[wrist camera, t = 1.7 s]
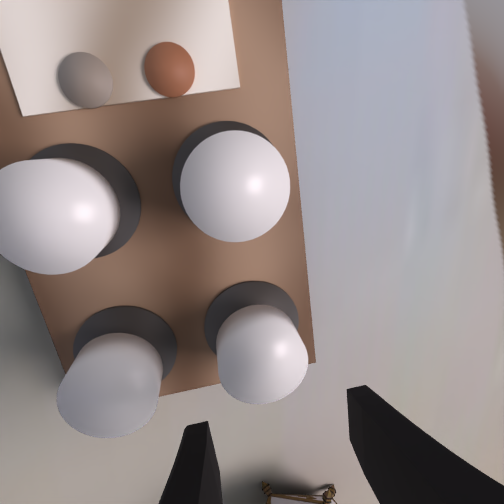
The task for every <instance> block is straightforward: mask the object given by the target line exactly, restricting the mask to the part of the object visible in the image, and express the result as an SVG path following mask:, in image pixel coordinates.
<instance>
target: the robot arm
mask: <svg viewBox="0 0 504 504" xmlns="http://www.w3.org/2000/svg"><path fill="white" fill-rule="evenodd" d="M347 402H348V419H349V436H350V441H351V444H352V446H353V449H354V451H355V454H356V456H357V458H358V461H359V463H360V465H361V468H362V470H363V472H364V475H365V477H366V479H367V480H368V482H369V484H370V486H371V488H372V490H373V492H374V493H375V495H376V497H377V499H378V501H379V503H380V504H504V486H503V485H502V484H500V483H498V482H497V481H495V480H493V479H492V478H490V477H489V476H487V475H486V474H484V473H482V472H481V471H479V470H478V469H476V468H475V467H473V466H472V465H470V464H469V463H467V462H466V461H464V460H463V459H462V458H460V457H459V456H457V455H456V454H454V453H453V452H451V451H450V450H449V449H447V448H446V447H444V446H443V445H442V444H440V443H439V442H437V441H436V440H435V439H433V438H432V437H431V436H429V435H428V434H427V433H425V432H424V431H423V430H421V429H420V428H419V427H417V426H416V425H415V424H414V423H412V422H411V421H410V420H408V419H407V418H406V417H405V416H403V415H402V414H401V413H400V412H398V411H397V410H396V409H395V408H393V407H392V406H391V405H390V404H388V403H387V402H386V401H385V400H384V399H382V398H381V397H380V396H379V395H378V394H376V393H375V392H374V391H373V390H371V389H370V388H369V387H368V386H366V385H363V386H359V387H354V388H350V389H347ZM159 504H223V503H222V491H221V480H220V471H219V466H218V462H217V458H216V454H215V449H214V445H213V441H212V437H211V432H210V428H209V424H208V421H205V422H201V423H197V424H192V425H188V426H187V427H186V428H185V429H184V433H183V437H182V440H181V443H180V447H179V450H178V453H177V456H176V459H175V462H174V465H173V467H172V470H171V473H170V476H169V478H168V481H167V483H166V486H165V489H164V491H163V494H162V496H161V499H160V501H159Z"/></svg>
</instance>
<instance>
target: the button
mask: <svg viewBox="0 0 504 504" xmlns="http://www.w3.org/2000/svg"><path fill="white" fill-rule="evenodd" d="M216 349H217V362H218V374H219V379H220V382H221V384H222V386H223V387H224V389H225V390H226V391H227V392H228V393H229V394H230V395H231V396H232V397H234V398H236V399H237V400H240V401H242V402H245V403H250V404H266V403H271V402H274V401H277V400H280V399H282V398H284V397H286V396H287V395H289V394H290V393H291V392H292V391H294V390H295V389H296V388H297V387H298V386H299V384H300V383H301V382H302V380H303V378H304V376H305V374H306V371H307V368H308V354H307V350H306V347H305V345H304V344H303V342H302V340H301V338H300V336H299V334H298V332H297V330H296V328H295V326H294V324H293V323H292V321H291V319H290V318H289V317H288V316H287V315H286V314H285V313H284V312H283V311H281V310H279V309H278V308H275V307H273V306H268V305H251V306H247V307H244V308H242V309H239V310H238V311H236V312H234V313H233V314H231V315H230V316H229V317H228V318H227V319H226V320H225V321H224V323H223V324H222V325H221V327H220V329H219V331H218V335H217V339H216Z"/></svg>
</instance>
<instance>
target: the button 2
mask: <svg viewBox="0 0 504 504" xmlns="http://www.w3.org/2000/svg"><path fill="white" fill-rule="evenodd" d="M162 374H163V364H162V360H161V357H160V355H159V353H158V352H157V350H156V349H155V348H154V347H153V346H152V345H151V344H150V343H149V342H147V341H146V340H144V339H143V338H140V337H138V336H135V335H132V334H127V333H110V334H105V335H102V336H99V337H96V338H95V339H93V340H91V341H90V342H88V343H87V344H86V345H85V346H84V347H83V348H82V349H81V350H80V352H79V353H78V355H77V357H76V359H75V360H74V362H73V364H72V365H71V367H70V369H69V370H68V372H67V374H66V375H65V377H64V379H63V380H62V382H61V384H60V386H59V388H58V392H57V406H58V409H59V412H60V414H61V416H62V417H63V419H64V420H65V421H66V422H67V423H68V424H69V425H70V426H71V427H73V428H74V429H76V430H77V431H79V432H81V433H83V434H86V435H89V436H93V437H98V438H116V437H121V436H125V435H128V434H131V433H133V432H135V431H137V430H139V429H140V428H142V427H143V426H144V425H145V424H146V423H147V422H148V421H149V420H150V419H151V418H152V416H153V415H154V413H155V410H156V407H157V403H158V397H159V392H160V386H161V380H162Z"/></svg>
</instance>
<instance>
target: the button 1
mask: <svg viewBox="0 0 504 504" xmlns="http://www.w3.org/2000/svg"><path fill="white" fill-rule="evenodd" d="M119 222H120V207H119V202H118V199H117V196H116V194H115V192H114V190H113V188H112V187H111V185H110V184H109V182H108V181H107V180H106V179H105V178H104V177H103V176H102V175H101V174H100V173H99V172H98V171H96V170H95V169H94V168H92V167H90V166H88V165H86V164H84V163H82V162H79V161H76V160H72V159H66V158H51V159H37V160H24V161H20V162H15V163H13V164H10V165H8V166H6V167H4V168H2V169H1V170H0V254H1V255H2V256H3V257H5V258H6V259H7V260H9V261H10V262H12V263H13V264H15V265H17V266H19V267H21V268H23V269H25V270H28V271H31V272H35V273H40V274H48V275H57V274H65V273H69V272H72V271H75V270H78V269H80V268H82V267H83V266H85V265H87V264H88V263H89V262H91V261H92V260H93V259H94V258H95V257H96V256H97V255H98V254H99V253H100V252H101V250H102V249H103V248H104V247H105V246H106V245H107V244H108V243H109V242H110V241H111V240H112V238H113V237H114V235H115V233H116V231H117V229H118V226H119Z"/></svg>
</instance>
